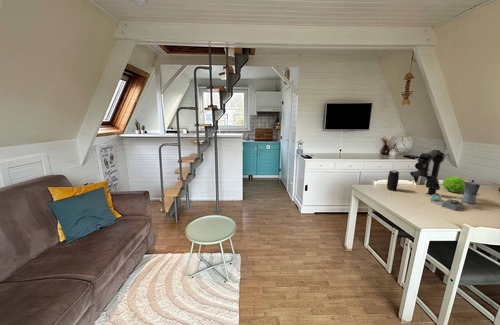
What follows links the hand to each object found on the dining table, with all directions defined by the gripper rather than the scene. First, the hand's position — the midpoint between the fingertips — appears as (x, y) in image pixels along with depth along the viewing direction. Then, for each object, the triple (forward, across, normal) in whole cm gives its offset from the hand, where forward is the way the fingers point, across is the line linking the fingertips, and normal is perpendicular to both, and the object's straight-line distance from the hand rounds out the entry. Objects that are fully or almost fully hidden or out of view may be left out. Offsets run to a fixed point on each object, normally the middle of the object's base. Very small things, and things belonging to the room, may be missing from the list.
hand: (421, 184), depth 179 cm
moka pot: (+14, +14, +36) cm, 41 cm away
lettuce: (+15, -10, +56) cm, 59 cm away
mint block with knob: (+14, +4, +14) cm, 20 cm away
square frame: (+14, +15, +9) cm, 22 cm away
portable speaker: (+14, -27, -1) cm, 30 cm away
